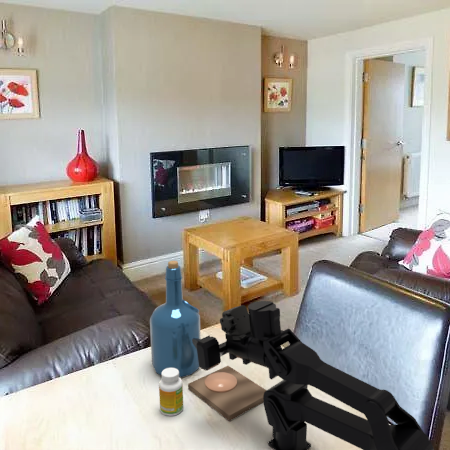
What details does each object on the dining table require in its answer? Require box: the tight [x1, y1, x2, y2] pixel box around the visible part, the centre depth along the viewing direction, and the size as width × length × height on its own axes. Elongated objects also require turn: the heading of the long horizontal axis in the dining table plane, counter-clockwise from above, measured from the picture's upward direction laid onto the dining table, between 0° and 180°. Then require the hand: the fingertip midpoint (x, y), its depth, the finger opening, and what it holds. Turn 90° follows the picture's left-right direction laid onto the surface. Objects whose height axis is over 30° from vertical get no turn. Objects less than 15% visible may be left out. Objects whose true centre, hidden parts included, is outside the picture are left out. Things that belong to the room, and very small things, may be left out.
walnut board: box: [187, 365, 268, 422], centre depth 113 cm, size 16×13×2 cm
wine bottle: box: [149, 260, 202, 379], centre depth 122 cm, size 14×13×30 cm
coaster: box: [205, 372, 237, 392], centre depth 115 cm, size 8×8×1 cm
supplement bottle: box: [158, 368, 184, 417], centre depth 106 cm, size 5×5×10 cm
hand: (207, 333), depth 109 cm, fingers open, 9 cm apart
